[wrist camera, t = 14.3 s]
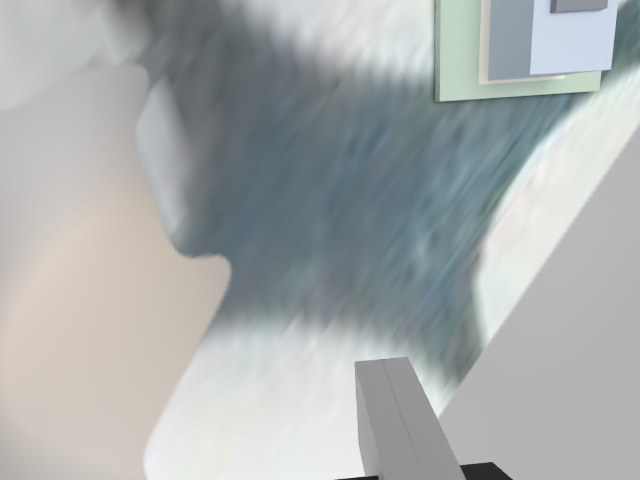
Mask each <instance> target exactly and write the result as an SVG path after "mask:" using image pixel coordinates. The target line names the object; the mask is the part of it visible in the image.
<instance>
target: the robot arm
mask: <svg viewBox="0 0 640 480" xmlns="http://www.w3.org/2000/svg"><path fill="white" fill-rule="evenodd" d="M355 378H356V399H357V419H358V439H359V447H360V452H361V457H362V462H363V467H364V472H365V477H357V478H347V479H337V480H513V479H511V478H510V477H509V476H508V475H507V474H505V473H504V472H503V471H502V470H501V469H500V468H499V467H497V466H496V465H495V464H494V463H493V462H488V463H478V464H469V465H459V464H458V461H457V459H456V457H455V455H454V453H453V451H452V449H451V447H450V445H449V443H448V441H447V438H446V436H445V434H444V432H443V430H442V428H441V426H440V424H439V422H438V419H437V417H436V415H435V413H434V411H433V409H432V407H431V405H430V403H429V401H428V398H427V396H426V394H425V392H424V390H423V388H422V386H421V384H420V382H419V380H418V377H417V375H416V373H415V371H414V369H413V367H412V365H411V363H410V361H409V359H408V357H402V358H391V359H380V360H369V361H358V362H355Z"/></svg>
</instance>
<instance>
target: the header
mask: <svg viewBox="0 0 640 480" xmlns="http://www.w3.org/2000/svg"><path fill="white" fill-rule="evenodd" d="M490 19H491V0H435V102H440V101H455V100H470V99H484V98H499V97H514V96H529V95H544V94H559V93H573V92H588V91H599V88H600V78H601V71H594V72H586V73H578V74H570V75H562V76H553V77H538V78H522V79H507V80H491V81H488V74H489V47H490Z"/></svg>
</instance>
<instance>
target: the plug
mask: <svg viewBox="0 0 640 480" xmlns="http://www.w3.org/2000/svg"><path fill="white" fill-rule="evenodd" d="M617 6H618V0H491V19H490V47H489V74H488V81H491V80H507V79H522V78H538V77H553V76H562V75H570V74H578V73H586V72H594V71H602V70H610V69H611V63H612V53H613V44H614V34H615V25H616V15H617Z"/></svg>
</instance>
